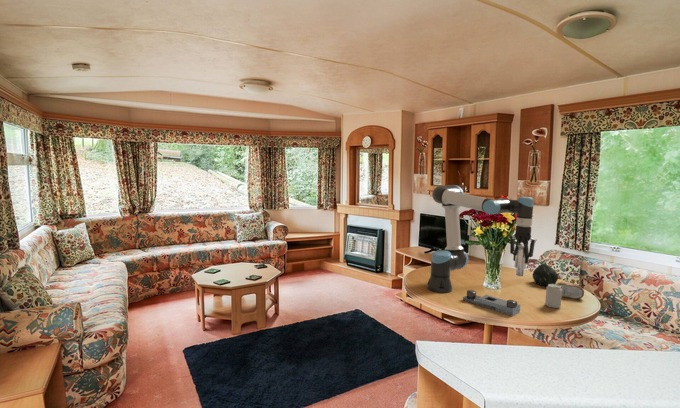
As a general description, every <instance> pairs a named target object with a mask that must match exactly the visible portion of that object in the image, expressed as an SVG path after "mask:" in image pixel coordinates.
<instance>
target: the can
mask: <svg viewBox="0 0 680 408" xmlns="http://www.w3.org/2000/svg"><path fill="white" fill-rule="evenodd" d="M556 284H557V283H556ZM556 284H548V286H546V288H545V289H546V291H545V303H544V304H545V305H546V306H547V307H548V308H551V309H559V308H560V307H561V306H562V298H563V297H562V289H561V286H559V285H556Z"/></svg>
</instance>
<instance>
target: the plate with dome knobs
mask: <svg viewBox="0 0 680 408" xmlns="http://www.w3.org/2000/svg"><path fill="white" fill-rule="evenodd" d="M463 301H464V302H466V303H469V304H472V305H476V306H479V307H482V308H484V309H485V308H486V309H489V310H491V311H495V312H498V313H501V314H504V315H507V316H511V317H513V316H516V315H517V314H520V313H521V304H519V303H518V301H517V300H515V299H514V300H513V299H507V300H505V299H502V298H499V297H495V296H492V295H489V294H485V295H483V296H480V295H477V291H476V290H472V289H469V290H467V291H466V295H465V296H463V297H462V302H463Z"/></svg>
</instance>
